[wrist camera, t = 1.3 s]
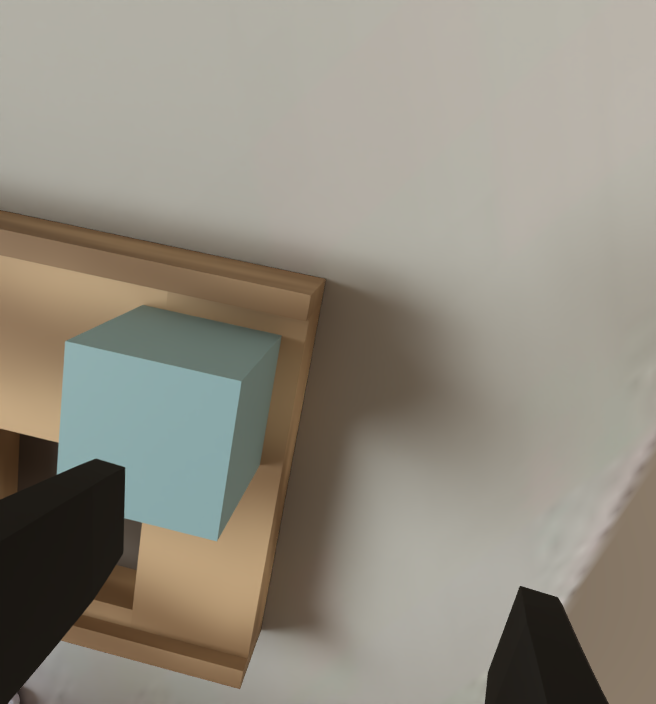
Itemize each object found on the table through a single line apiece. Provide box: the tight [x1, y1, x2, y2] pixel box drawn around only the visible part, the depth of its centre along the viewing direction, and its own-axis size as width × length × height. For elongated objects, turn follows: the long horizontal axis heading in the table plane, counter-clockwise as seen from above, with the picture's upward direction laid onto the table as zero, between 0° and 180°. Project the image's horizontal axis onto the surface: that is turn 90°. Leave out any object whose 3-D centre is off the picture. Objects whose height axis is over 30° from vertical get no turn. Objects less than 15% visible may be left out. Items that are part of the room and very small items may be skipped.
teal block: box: [57, 305, 282, 541], centre depth 18 cm, size 4×4×4 cm
